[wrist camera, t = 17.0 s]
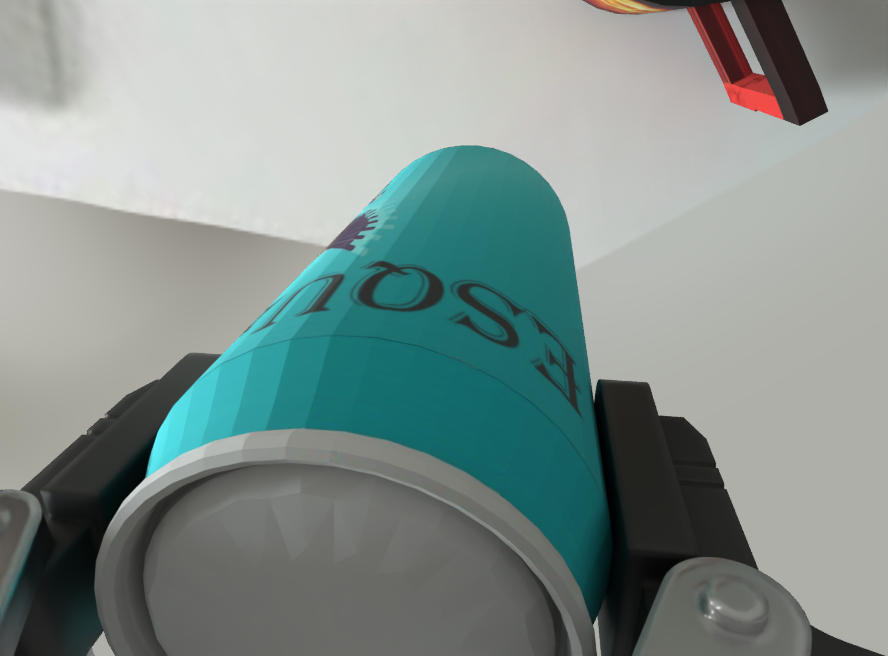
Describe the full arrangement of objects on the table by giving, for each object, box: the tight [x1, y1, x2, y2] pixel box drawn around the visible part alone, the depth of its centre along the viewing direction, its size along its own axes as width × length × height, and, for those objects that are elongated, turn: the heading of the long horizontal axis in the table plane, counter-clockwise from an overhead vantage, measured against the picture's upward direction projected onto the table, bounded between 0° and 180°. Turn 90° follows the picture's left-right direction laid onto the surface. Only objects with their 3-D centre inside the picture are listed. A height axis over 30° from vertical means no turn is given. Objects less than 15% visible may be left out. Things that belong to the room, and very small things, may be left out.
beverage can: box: [94, 146, 613, 656], centre depth 13 cm, size 6×6×15 cm
